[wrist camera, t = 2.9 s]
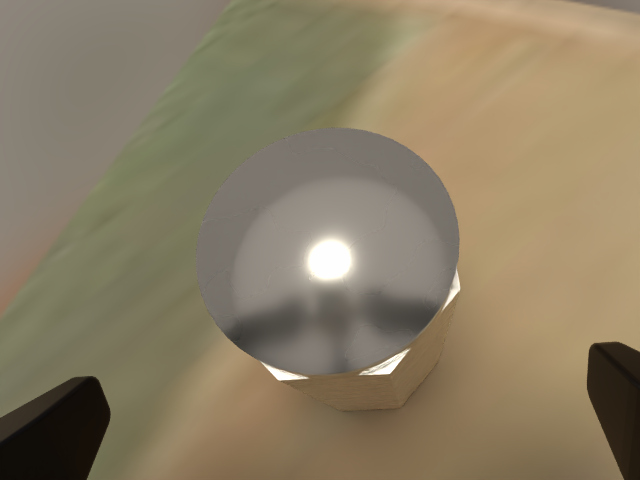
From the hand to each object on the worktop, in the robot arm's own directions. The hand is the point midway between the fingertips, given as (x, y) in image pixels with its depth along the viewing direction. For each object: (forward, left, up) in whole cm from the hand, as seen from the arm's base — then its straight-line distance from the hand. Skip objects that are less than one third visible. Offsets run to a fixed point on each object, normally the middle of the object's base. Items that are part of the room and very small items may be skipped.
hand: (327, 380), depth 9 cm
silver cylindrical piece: (+2, +2, -10) cm, 10 cm away
